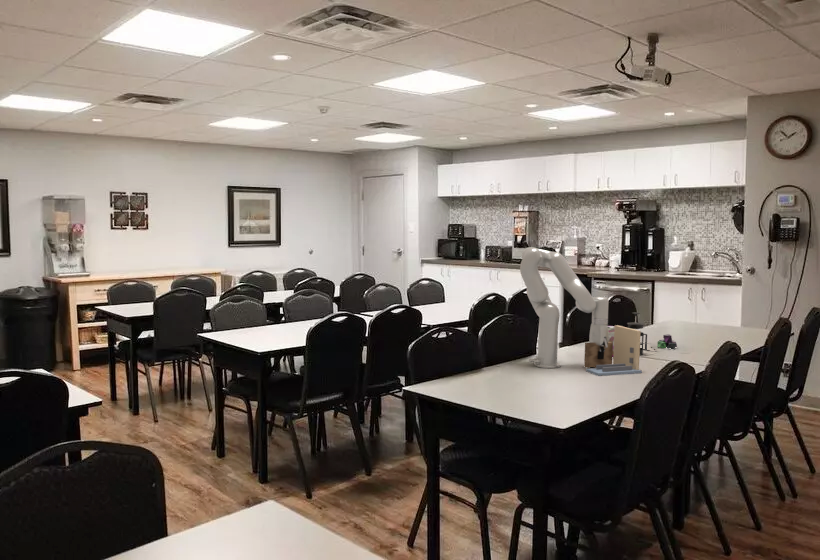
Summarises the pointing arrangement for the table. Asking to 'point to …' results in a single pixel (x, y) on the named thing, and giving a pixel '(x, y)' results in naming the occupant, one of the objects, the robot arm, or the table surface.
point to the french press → (640, 326)
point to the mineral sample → (667, 342)
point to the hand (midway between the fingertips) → (598, 358)
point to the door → (592, 355)
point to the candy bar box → (611, 336)
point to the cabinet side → (622, 353)
